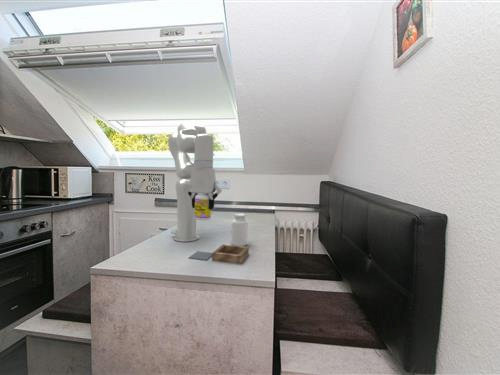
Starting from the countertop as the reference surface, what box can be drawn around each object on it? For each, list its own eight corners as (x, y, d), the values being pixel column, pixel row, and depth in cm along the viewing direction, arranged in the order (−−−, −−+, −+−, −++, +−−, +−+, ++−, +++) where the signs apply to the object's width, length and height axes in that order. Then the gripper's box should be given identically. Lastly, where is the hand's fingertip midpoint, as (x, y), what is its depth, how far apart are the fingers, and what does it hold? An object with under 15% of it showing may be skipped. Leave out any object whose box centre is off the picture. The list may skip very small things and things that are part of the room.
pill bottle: (240, 247, 111) (241, 216, 110) (227, 244, 115) (228, 214, 115) (250, 244, 117) (251, 214, 116) (238, 240, 122) (238, 212, 121)
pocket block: (212, 260, 94) (212, 253, 94) (222, 250, 106) (223, 244, 105) (240, 263, 91) (240, 256, 91) (248, 253, 103) (248, 247, 102)
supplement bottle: (191, 219, 96) (191, 188, 95) (199, 217, 102) (200, 187, 101) (205, 221, 93) (206, 189, 92) (213, 218, 100) (214, 188, 99)
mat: (188, 258, 95) (188, 257, 95) (197, 252, 103) (197, 251, 103) (206, 260, 94) (206, 259, 93) (214, 254, 101) (214, 253, 101)
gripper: (179, 164, 94) (179, 208, 96) (220, 165, 90) (219, 211, 92) (188, 165, 102) (188, 205, 103) (226, 166, 98) (225, 208, 99)
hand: (202, 208), depth 97 cm, fingers closed on supplement bottle, 6 cm apart
